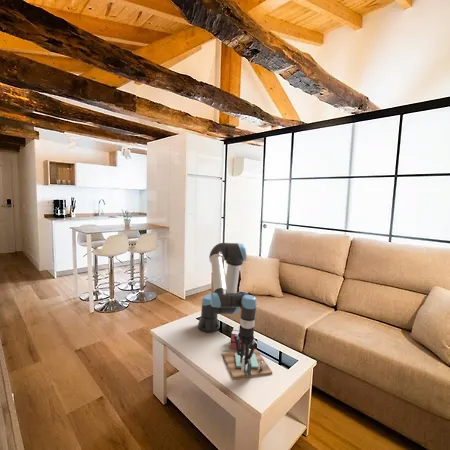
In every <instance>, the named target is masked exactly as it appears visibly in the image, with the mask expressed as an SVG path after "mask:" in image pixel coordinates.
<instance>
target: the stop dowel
mask: <svg viewBox="0 0 450 450" xmlns="http://www.w3.org/2000/svg"><path fill="white" fill-rule="evenodd" d="M260 371H263V361H260Z"/></svg>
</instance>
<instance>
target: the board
mask: <svg viewBox="0 0 450 450" xmlns="http://www.w3.org/2000/svg"><path fill="white" fill-rule="evenodd" d="M250 351H251V349H249V353H250ZM235 353H237V350H234V351H224V352H222V353H221V354H222V357H223V360H224V361H225V363H226V366H227V369H228V370H229V373H230V376H231V377H232V380H240V379H246V378H253V377H262V376H268V375H273V371H272V370H271V368H270V367H269V365H268V363H267V362H266V361H265V359H264V358H263V356H262V355H261V354H260V352H259V351H258V350H257V348H255V349H254V352H253V354H255V355H256V359H257V362H258V366H259V368H251V371H252V375H246V372H245V370H244V371H242V370H241V368H237V367H236V360H235ZM244 356H245V351H244ZM260 361H263V371H260Z"/></svg>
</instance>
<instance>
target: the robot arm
mask: <svg viewBox="0 0 450 450" xmlns="http://www.w3.org/2000/svg"><path fill="white" fill-rule="evenodd" d="M208 256H209V257H208V258H209V262H210V264H211V273H212V274H211V275H212V286H213V292H212V293H210V294H206V295H204V296H203V297H202V300H201V310H200V311H201V312H200V313H201V315H200V318H199V321H198V324H197V328H198V330H199V331H201V332H203V333H215V332H217V331H218V330H219V329H220V322H219V319H218V315H236V314H237V313H238V312H239V309H240V318H239V327H238V328H239V334H238V335H237V334H236V335H235V336H234V339H235V341H236V348H237V350H236V351H237V355H240V357H241V358H240V363H242V366H241V370H242V371H244V370H245V368H246V364H247V363H248V359H250V358H251V357H252V355H253V352H254V349H256V346H257V345H258V343H259V341H258V340H256V339H255V336H254V333H255V332H254V331H255V326H256V325H255V323H256V322H255V321H256V310H257V298H256V296H254V295H251V294H249V293H247V291H244V290H240V291H238V284H239V278H240V277H239V275H240V271H241V270H240V269H241V266H243V263H244V262H246V260H247V249H246V246H245V244H243V243H239V242H235V243H234V242H221V243H220V242H219V243H217V244H216V245H214V246H213V248H212V249H211V250H210V253H209V255H208ZM224 262H225V263H226V264H227V267H226V271H225V265H224ZM225 273H226V274H225ZM237 291H238V292H237ZM239 338H240V340H241V347H240V340H239ZM251 343H252V346H251ZM245 344H246V345H245ZM245 346H246V349H245ZM250 346H251V348H250ZM249 350H251V351H250V353H249ZM244 351H245V356H244Z"/></svg>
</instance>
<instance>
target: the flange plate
mask: <svg viewBox="0 0 450 450" xmlns="http://www.w3.org/2000/svg"><path fill="white" fill-rule="evenodd" d="M240 358H241V357H240V355H237V353H235V360H236V367H237V368H241V366H242V363H240ZM251 368H259V366H258V362H257V359H256V355H255V354H253V355H252V357H251V358H250V359H248V363H247V364H246V368H245V372H246V375H252V371H251Z"/></svg>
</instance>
